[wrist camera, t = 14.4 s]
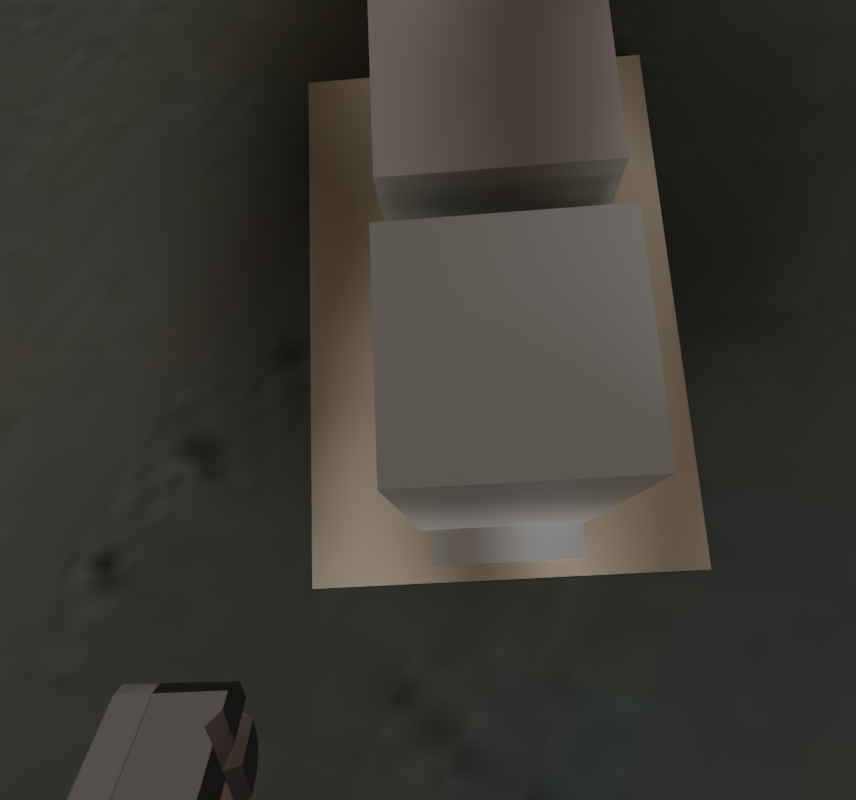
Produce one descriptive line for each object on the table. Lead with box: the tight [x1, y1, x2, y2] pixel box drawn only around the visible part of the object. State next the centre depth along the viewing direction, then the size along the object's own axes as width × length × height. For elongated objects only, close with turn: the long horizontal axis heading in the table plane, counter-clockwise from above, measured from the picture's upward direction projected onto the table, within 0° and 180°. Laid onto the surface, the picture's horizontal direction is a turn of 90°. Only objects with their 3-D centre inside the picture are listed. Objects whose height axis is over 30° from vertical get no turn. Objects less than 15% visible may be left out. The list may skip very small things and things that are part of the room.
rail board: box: [309, 0, 711, 589], centre depth 20 cm, size 12×18×11 cm, turn 3°
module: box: [369, 202, 676, 531], centre depth 18 cm, size 5×5×10 cm
